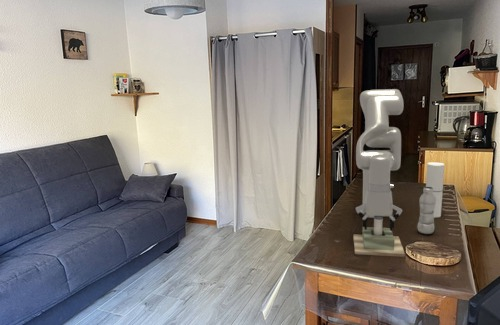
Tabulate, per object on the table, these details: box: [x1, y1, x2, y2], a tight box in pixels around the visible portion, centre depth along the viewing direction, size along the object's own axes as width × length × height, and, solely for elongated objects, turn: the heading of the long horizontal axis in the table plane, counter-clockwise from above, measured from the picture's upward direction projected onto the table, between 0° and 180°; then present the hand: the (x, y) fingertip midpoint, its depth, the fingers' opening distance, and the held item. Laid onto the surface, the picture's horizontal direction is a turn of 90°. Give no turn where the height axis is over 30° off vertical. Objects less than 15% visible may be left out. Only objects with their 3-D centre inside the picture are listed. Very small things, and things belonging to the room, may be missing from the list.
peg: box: [373, 216, 384, 236], centre depth 150 cm, size 3×3×12 cm
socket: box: [352, 226, 406, 258], centre depth 151 cm, size 16×18×6 cm
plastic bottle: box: [417, 186, 436, 235], centre depth 159 cm, size 6×7×20 cm
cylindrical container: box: [425, 161, 445, 219], centre depth 178 cm, size 7×7×25 cm
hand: (378, 228), depth 150 cm, fingers open, 9 cm apart
